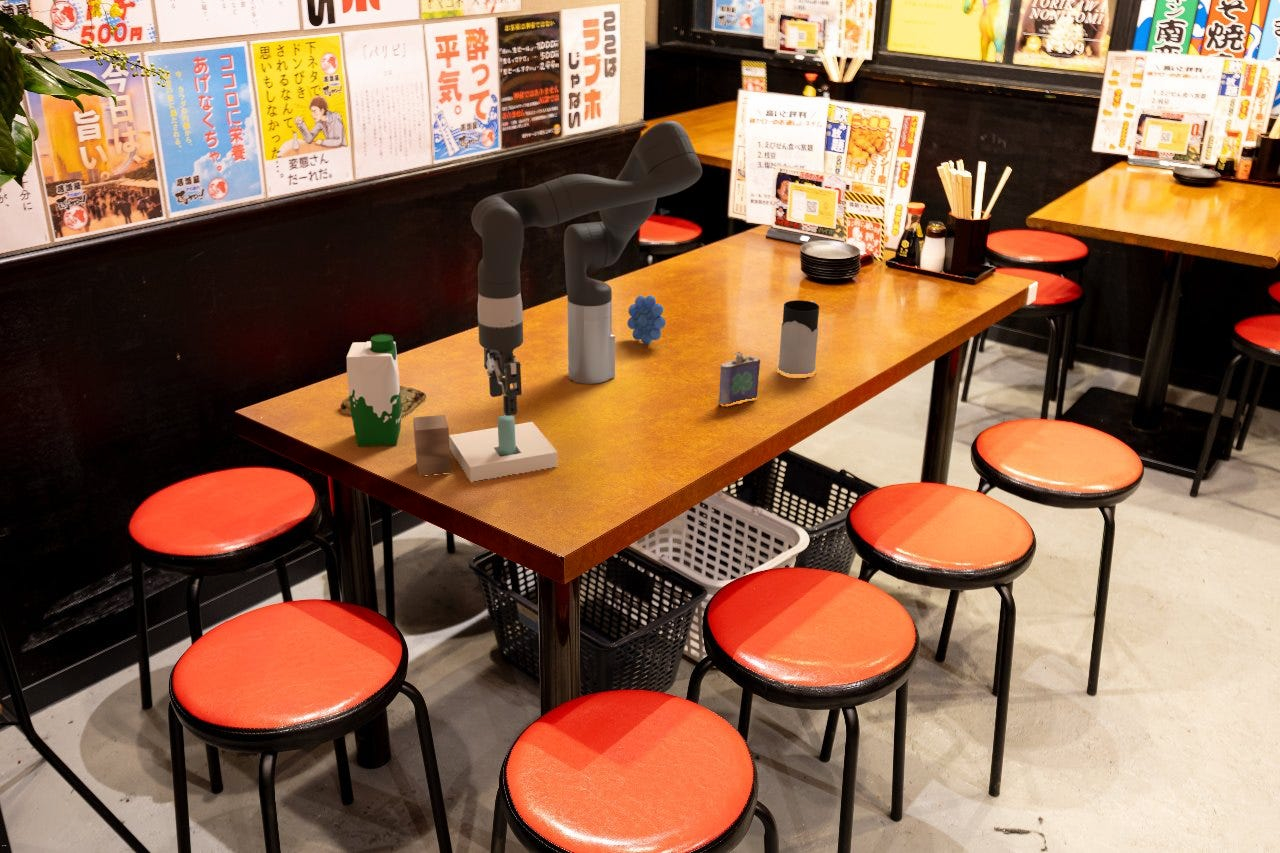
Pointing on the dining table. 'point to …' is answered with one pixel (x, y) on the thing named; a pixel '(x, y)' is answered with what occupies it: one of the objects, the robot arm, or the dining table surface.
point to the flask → (739, 379)
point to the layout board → (484, 461)
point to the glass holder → (799, 337)
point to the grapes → (646, 319)
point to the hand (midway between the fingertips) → (503, 405)
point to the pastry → (408, 401)
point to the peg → (506, 435)
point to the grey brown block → (432, 445)
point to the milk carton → (374, 391)
